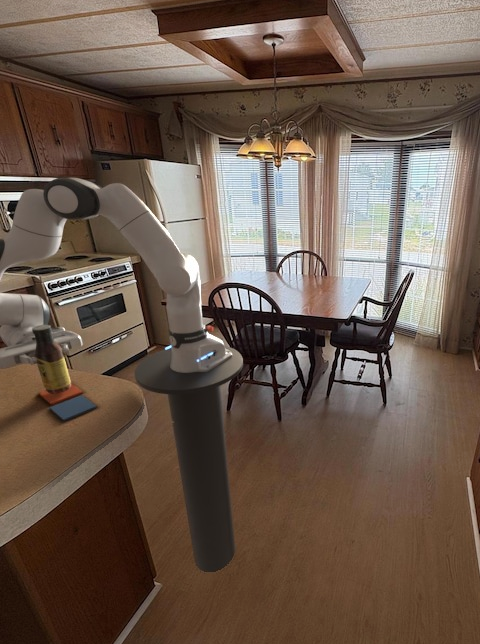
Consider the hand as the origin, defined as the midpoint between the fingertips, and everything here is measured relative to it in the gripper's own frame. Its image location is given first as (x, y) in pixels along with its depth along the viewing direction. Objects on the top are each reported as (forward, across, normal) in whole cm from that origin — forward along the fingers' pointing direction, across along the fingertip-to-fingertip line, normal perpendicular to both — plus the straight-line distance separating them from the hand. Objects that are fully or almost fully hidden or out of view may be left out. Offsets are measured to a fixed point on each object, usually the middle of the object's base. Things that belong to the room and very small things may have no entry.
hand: (50, 356), depth 96 cm
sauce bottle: (-1, 0, +11) cm, 11 cm away
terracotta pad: (-1, 0, +12) cm, 12 cm away
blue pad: (+10, -1, +12) cm, 16 cm away
